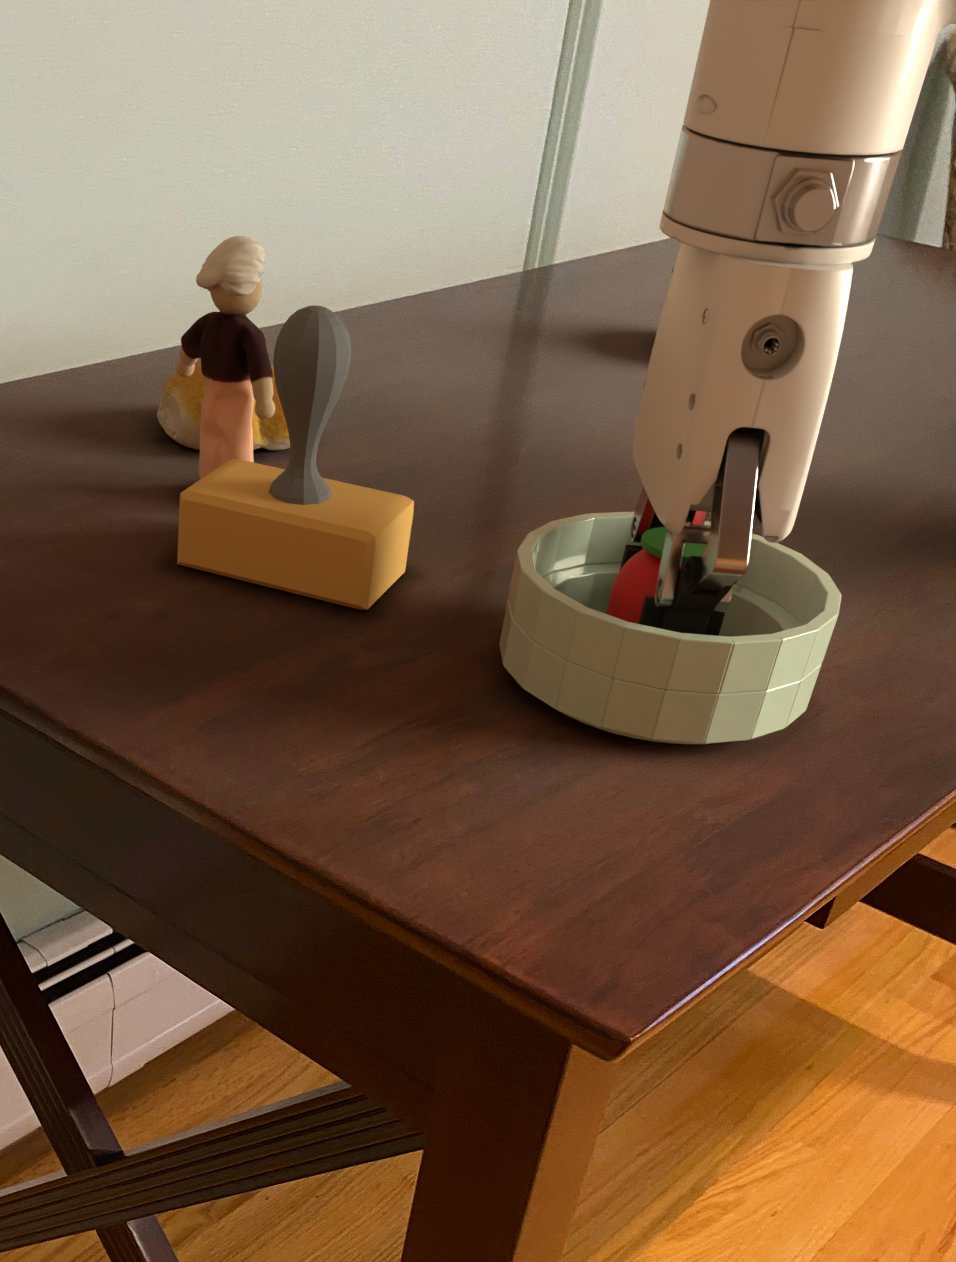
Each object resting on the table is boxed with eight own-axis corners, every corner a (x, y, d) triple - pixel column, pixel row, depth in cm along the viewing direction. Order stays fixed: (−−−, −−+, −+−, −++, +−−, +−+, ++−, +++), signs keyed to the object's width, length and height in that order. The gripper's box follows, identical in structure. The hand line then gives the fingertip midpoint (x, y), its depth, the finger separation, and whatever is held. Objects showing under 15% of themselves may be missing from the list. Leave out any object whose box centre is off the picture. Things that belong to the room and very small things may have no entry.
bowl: (766, 627, 70) (798, 524, 67) (838, 768, 60) (879, 654, 57) (487, 605, 71) (506, 501, 68) (511, 741, 61) (534, 627, 57)
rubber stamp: (407, 570, 73) (444, 311, 66) (364, 614, 69) (398, 342, 62) (225, 527, 76) (240, 274, 69) (174, 566, 72) (184, 302, 65)
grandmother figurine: (299, 507, 79) (324, 246, 71) (253, 525, 77) (272, 258, 69) (192, 467, 83) (204, 216, 75) (145, 484, 81) (151, 226, 73)
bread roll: (334, 450, 86) (341, 379, 84) (189, 463, 84) (193, 389, 81) (276, 404, 92) (282, 336, 90) (140, 415, 89) (142, 345, 87)
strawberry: (691, 649, 67) (726, 525, 63) (711, 696, 63) (749, 568, 60) (588, 640, 67) (617, 516, 63) (602, 688, 63) (633, 559, 60)
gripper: (955, 260, 47) (781, 768, 58) (821, 159, 60) (701, 590, 71) (715, 241, 47) (589, 751, 58) (634, 145, 60) (544, 577, 72)
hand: (652, 658), depth 65 cm, fingers closed on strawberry, 4 cm apart
